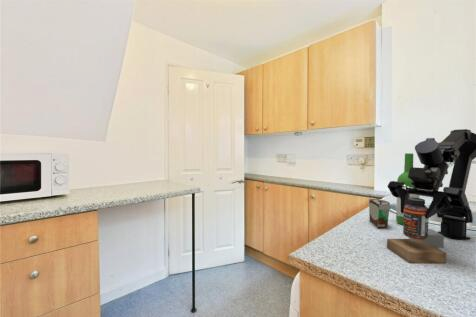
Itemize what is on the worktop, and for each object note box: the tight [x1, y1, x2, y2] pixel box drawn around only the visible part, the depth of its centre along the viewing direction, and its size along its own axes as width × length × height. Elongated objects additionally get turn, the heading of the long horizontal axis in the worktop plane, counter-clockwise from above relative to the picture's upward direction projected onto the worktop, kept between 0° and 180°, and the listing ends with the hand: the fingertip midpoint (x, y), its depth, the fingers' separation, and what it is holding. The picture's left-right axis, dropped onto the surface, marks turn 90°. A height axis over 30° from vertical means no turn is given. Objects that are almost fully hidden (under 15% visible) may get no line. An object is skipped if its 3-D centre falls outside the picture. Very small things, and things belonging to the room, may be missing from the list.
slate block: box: [408, 228, 445, 248], centre depth 80 cm, size 7×7×4 cm
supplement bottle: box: [402, 197, 430, 239], centre depth 70 cm, size 6×6×11 cm
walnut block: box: [386, 238, 447, 264], centre depth 70 cm, size 10×10×3 cm
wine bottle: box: [395, 152, 420, 226], centre depth 99 cm, size 8×8×30 cm
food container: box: [368, 198, 392, 230], centre depth 98 cm, size 12×6×10 cm, turn 168°
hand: (413, 215), depth 69 cm, fingers closed on supplement bottle, 6 cm apart
